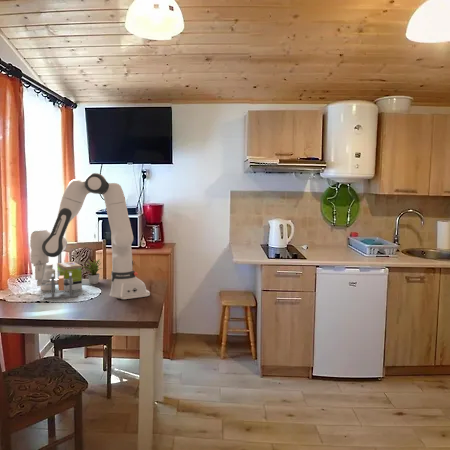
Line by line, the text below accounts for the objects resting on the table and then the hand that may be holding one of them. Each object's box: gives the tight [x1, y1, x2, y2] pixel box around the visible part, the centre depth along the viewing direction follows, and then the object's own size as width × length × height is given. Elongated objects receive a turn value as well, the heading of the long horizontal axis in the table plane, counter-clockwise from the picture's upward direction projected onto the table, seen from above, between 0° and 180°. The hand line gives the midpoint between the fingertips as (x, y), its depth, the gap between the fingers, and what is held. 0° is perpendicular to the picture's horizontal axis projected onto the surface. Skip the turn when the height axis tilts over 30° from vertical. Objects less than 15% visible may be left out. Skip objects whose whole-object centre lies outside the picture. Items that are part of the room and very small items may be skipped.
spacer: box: [57, 276, 64, 292], centre depth 222 cm, size 3×7×7 cm, turn 21°
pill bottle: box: [40, 263, 56, 291], centre depth 236 cm, size 8×8×15 cm
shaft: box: [36, 278, 73, 287], centre depth 221 cm, size 18×3×3 cm, turn 111°
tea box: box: [56, 261, 83, 292], centre depth 240 cm, size 15×10×15 cm
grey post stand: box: [43, 273, 78, 300], centre depth 222 cm, size 17×10×12 cm, turn 111°
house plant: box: [81, 258, 104, 285], centre depth 252 cm, size 14×14×16 cm
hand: (40, 284), depth 218 cm, fingers closed on shaft, 3 cm apart
